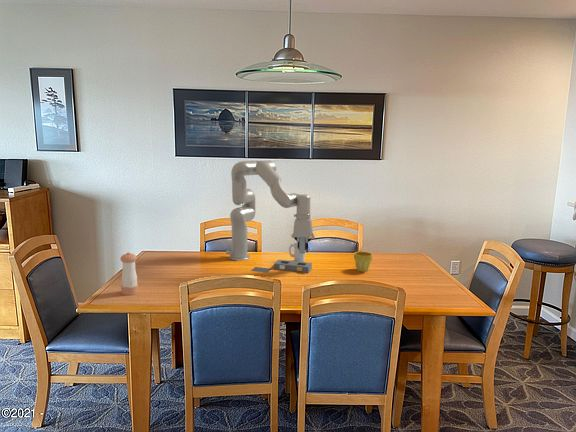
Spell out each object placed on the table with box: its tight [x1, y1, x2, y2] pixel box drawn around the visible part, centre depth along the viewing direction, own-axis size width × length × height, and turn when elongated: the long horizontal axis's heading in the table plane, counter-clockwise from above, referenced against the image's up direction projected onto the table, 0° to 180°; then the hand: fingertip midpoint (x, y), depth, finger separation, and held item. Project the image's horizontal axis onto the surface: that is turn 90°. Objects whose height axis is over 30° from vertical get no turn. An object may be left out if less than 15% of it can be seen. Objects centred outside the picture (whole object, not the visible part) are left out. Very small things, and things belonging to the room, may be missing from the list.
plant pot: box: [353, 250, 373, 273], centre depth 239 cm, size 10×10×10 cm
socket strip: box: [273, 259, 313, 274], centre depth 237 cm, size 20×9×4 cm, turn 74°
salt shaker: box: [120, 252, 139, 296], centre depth 193 cm, size 7×7×19 cm
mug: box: [288, 240, 306, 262], centre depth 253 cm, size 10×7×12 cm, turn 89°
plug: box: [299, 238, 307, 255], centre depth 234 cm, size 3×3×10 cm
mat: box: [250, 266, 272, 273], centre depth 234 cm, size 10×8×1 cm
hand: (302, 248), depth 234 cm, fingers closed on plug, 3 cm apart
